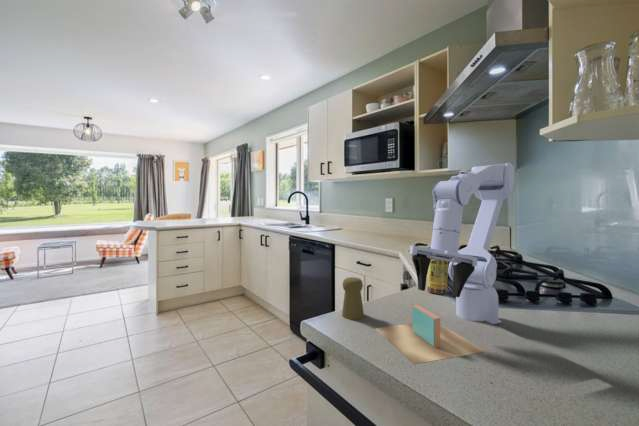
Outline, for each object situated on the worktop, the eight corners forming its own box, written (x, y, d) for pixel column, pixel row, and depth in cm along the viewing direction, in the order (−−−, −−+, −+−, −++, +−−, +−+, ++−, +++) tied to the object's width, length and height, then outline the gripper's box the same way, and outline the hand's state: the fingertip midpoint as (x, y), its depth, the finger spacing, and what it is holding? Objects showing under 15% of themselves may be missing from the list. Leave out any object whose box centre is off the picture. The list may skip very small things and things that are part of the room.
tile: (417, 330, 67) (417, 304, 67) (440, 347, 60) (440, 317, 59) (412, 331, 67) (412, 305, 67) (434, 348, 59) (434, 318, 59)
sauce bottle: (429, 294, 97) (429, 234, 97) (425, 289, 104) (425, 232, 103) (450, 295, 96) (450, 234, 96) (445, 289, 103) (445, 232, 102)
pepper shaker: (364, 325, 74) (363, 281, 73) (339, 323, 75) (339, 280, 75) (365, 316, 80) (364, 275, 79) (342, 314, 81) (342, 274, 80)
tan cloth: (434, 325, 73) (434, 320, 73) (486, 357, 58) (486, 351, 58) (375, 333, 69) (375, 328, 69) (413, 370, 54) (413, 364, 54)
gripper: (421, 224, 62) (412, 289, 61) (488, 237, 62) (481, 302, 61) (410, 227, 69) (401, 285, 68) (470, 238, 69) (463, 297, 68)
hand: (438, 293), depth 65 cm, fingers open, 7 cm apart
